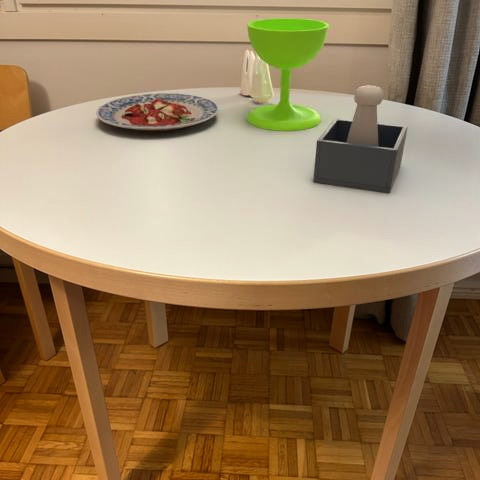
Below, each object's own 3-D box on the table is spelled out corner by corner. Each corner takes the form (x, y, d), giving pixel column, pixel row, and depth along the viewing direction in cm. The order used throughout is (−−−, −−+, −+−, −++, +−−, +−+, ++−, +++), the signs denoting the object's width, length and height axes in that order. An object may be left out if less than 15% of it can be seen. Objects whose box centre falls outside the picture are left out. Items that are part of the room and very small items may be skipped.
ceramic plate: (75, 118, 114) (72, 104, 113) (171, 97, 128) (170, 84, 126) (142, 148, 99) (140, 132, 97) (243, 120, 113) (243, 106, 111)
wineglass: (332, 115, 116) (342, 22, 105) (301, 135, 105) (307, 34, 94) (268, 104, 123) (271, 16, 112) (232, 122, 112) (231, 26, 101)
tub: (400, 165, 92) (407, 126, 88) (389, 193, 83) (397, 150, 79) (330, 156, 96) (334, 118, 92) (313, 182, 87) (316, 140, 82)
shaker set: (274, 104, 123) (276, 52, 116) (258, 106, 122) (259, 53, 115) (254, 92, 132) (255, 42, 125) (238, 93, 131) (238, 44, 124)
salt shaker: (376, 164, 91) (388, 83, 83) (376, 176, 86) (390, 92, 78) (341, 161, 92) (351, 81, 84) (340, 174, 87) (350, 90, 79)
